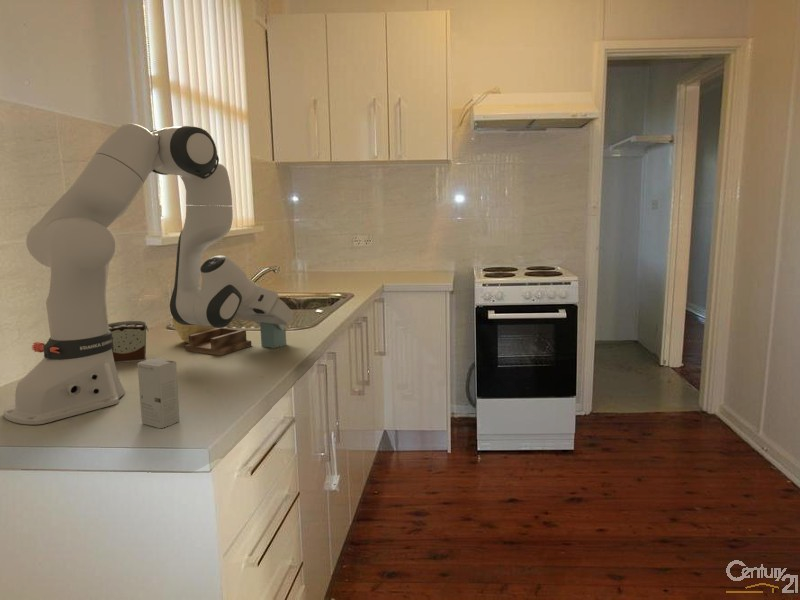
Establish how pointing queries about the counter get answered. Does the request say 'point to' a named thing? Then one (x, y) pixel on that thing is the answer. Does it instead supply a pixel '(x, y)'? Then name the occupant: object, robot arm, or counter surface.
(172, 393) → the skincare box
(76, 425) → the counter surface
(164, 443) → the counter surface
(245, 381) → the counter surface
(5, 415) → the robot arm
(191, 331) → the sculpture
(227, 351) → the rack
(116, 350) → the food container
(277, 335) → the tin
